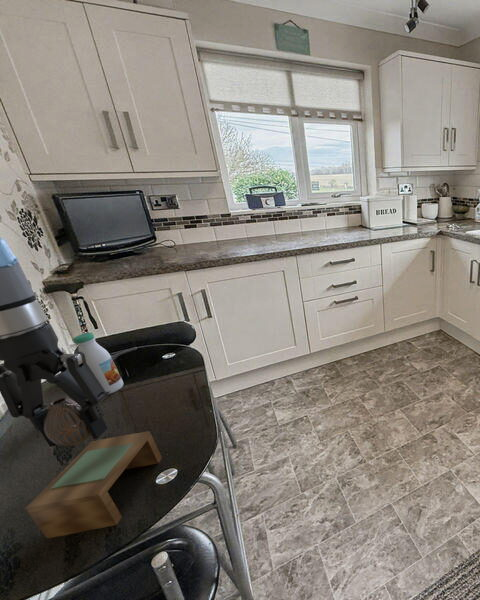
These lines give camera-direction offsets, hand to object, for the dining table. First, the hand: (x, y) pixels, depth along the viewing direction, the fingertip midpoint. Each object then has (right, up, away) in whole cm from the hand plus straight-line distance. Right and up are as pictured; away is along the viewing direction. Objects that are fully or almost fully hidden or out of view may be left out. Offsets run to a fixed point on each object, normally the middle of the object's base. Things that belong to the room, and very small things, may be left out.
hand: (79, 437), depth 63 cm
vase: (0, 0, 0) cm, 1 cm away
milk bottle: (-34, -3, +44) cm, 56 cm away
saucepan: (-46, 0, +57) cm, 73 cm away
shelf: (+1, -14, +5) cm, 15 cm away
